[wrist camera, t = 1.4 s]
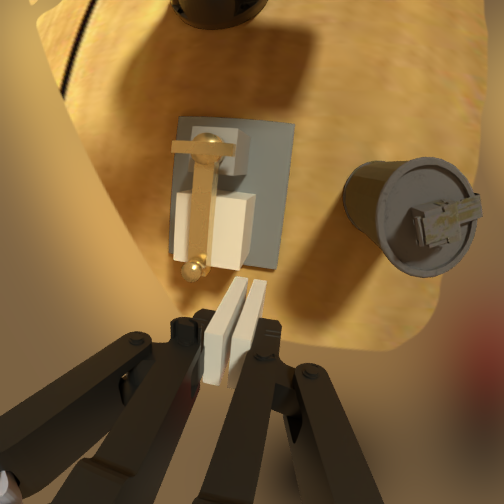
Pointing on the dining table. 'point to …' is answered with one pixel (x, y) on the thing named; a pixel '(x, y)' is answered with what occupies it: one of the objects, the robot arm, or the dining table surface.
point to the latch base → (244, 175)
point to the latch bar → (202, 198)
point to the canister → (414, 212)
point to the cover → (219, 228)
